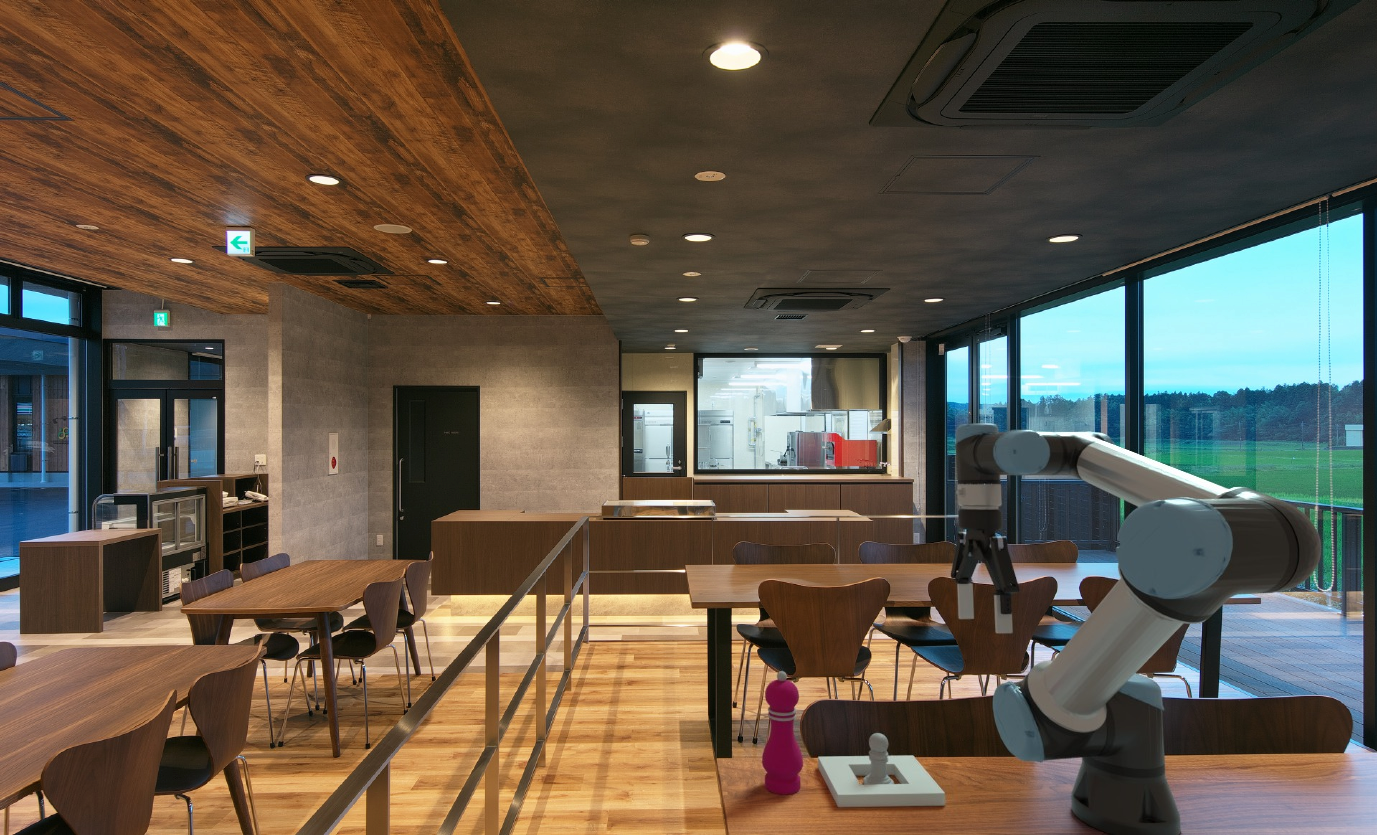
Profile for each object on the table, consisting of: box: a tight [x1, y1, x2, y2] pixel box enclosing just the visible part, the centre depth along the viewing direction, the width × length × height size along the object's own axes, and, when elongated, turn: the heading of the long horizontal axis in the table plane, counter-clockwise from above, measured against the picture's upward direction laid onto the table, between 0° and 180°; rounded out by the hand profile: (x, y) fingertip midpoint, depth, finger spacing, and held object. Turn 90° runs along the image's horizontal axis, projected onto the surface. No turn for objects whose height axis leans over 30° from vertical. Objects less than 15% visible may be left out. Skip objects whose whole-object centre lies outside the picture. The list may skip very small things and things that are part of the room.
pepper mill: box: [761, 670, 804, 795], centre depth 132 cm, size 7×7×20 cm
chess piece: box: [862, 732, 895, 785], centre depth 132 cm, size 5×5×9 cm
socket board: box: [817, 755, 946, 808], centre depth 132 cm, size 18×16×2 cm
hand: (984, 625), depth 135 cm, fingers open, 13 cm apart
